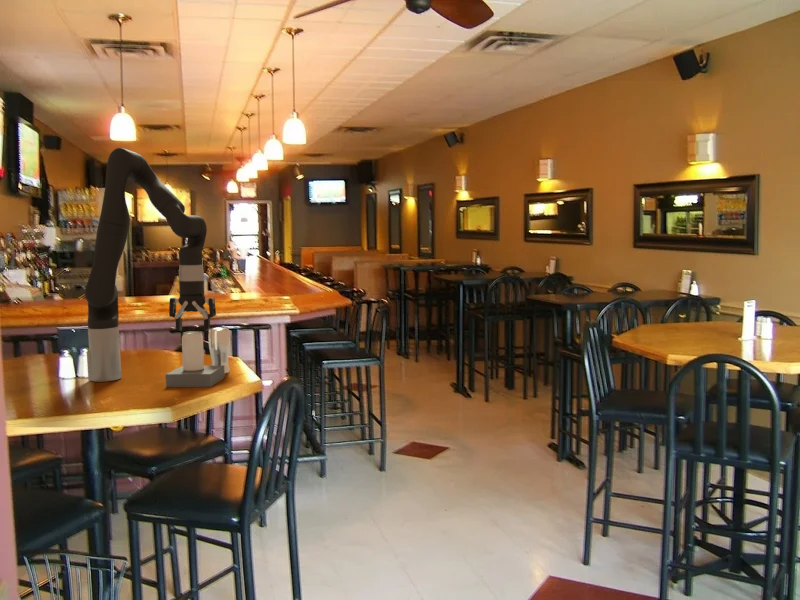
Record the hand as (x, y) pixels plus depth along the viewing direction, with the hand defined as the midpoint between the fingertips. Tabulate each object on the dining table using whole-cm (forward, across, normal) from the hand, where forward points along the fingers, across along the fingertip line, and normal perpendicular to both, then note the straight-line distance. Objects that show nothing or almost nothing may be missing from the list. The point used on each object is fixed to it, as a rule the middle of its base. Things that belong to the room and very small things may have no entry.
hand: (193, 330), depth 223 cm
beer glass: (+17, +3, +16) cm, 23 cm away
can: (+13, 0, 0) cm, 13 cm away
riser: (+17, 0, 0) cm, 17 cm away
